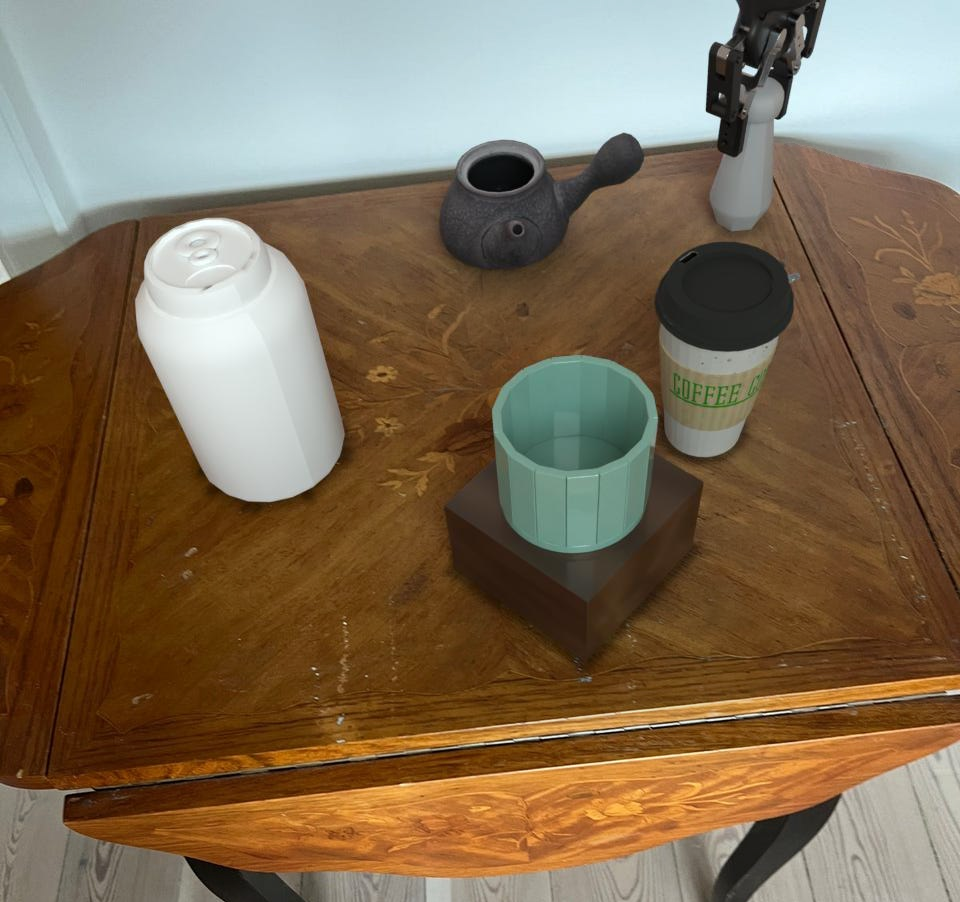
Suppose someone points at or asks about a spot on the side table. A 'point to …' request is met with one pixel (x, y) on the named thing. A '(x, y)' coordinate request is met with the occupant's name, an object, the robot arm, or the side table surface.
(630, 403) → the green cup
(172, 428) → the side table surface
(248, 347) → the can
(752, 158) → the salt shaker
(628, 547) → the block
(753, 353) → the coffee cup
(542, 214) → the teapot
